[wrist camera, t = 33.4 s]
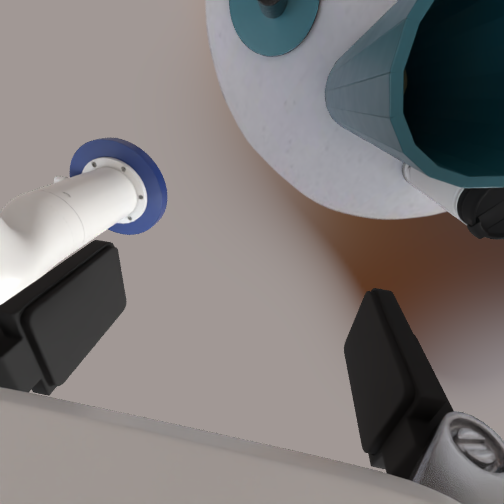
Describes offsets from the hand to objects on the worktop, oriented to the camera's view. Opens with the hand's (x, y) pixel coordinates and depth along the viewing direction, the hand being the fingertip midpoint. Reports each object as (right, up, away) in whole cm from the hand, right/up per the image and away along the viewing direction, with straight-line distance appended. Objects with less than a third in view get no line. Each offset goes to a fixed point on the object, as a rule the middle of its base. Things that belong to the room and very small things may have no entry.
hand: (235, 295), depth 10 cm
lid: (+3, +34, +24) cm, 42 cm away
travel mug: (+27, +15, +32) cm, 44 cm away
